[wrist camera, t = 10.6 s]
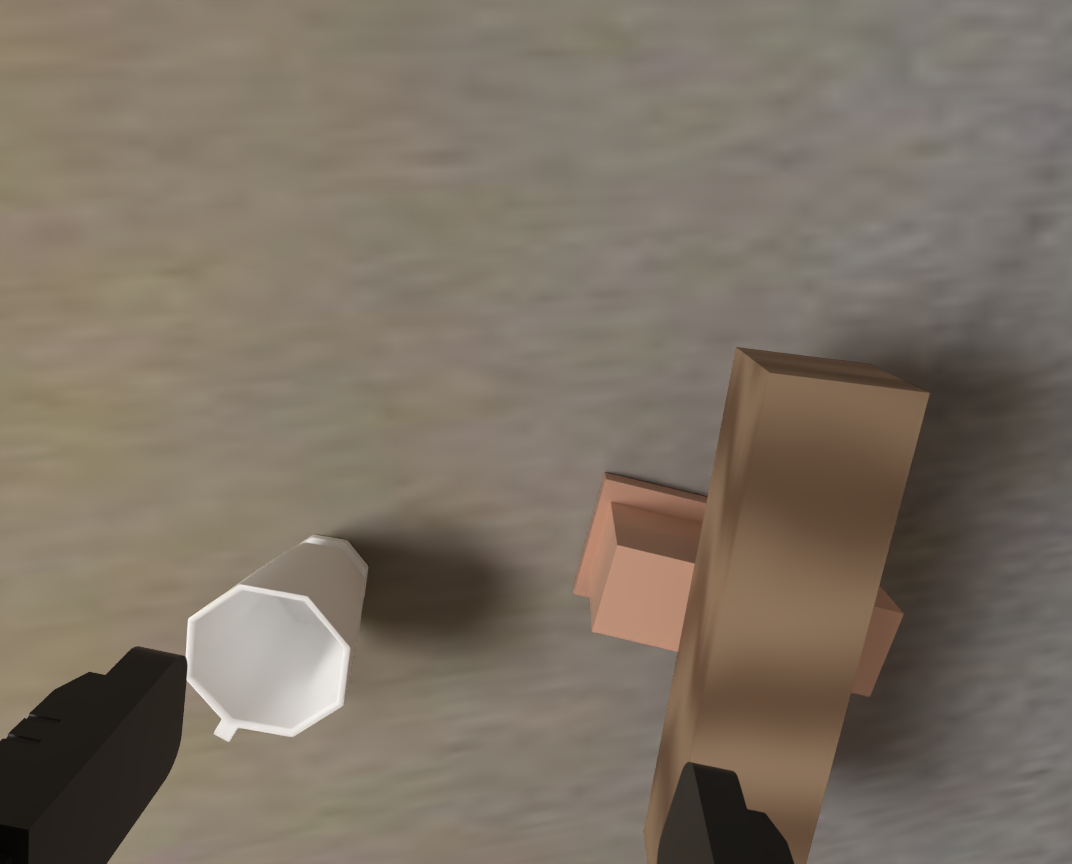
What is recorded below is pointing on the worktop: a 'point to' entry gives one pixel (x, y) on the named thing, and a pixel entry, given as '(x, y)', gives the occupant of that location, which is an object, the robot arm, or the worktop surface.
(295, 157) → the worktop surface
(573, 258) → the worktop surface
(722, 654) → the walnut bar
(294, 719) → the cup
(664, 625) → the ridge
